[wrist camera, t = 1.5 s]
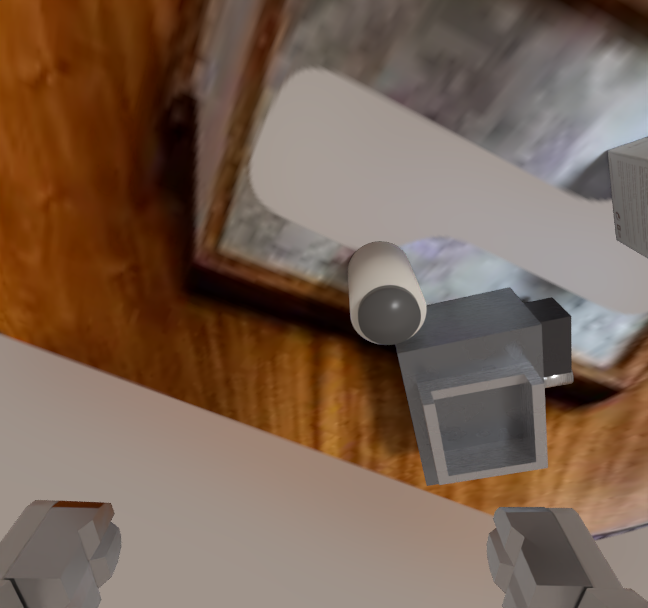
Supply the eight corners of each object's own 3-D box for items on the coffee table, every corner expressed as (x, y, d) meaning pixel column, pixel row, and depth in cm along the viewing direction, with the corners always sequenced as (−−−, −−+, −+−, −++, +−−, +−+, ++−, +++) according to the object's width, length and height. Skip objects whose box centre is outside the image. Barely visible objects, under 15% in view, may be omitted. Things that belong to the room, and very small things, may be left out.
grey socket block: (548, 279, 34) (608, 334, 27) (552, 410, 40) (602, 486, 33) (388, 313, 36) (402, 374, 29) (415, 434, 42) (432, 511, 35)
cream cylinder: (404, 234, 33) (422, 275, 26) (414, 291, 35) (434, 342, 28) (340, 249, 34) (342, 293, 27) (355, 304, 36) (360, 357, 29)
